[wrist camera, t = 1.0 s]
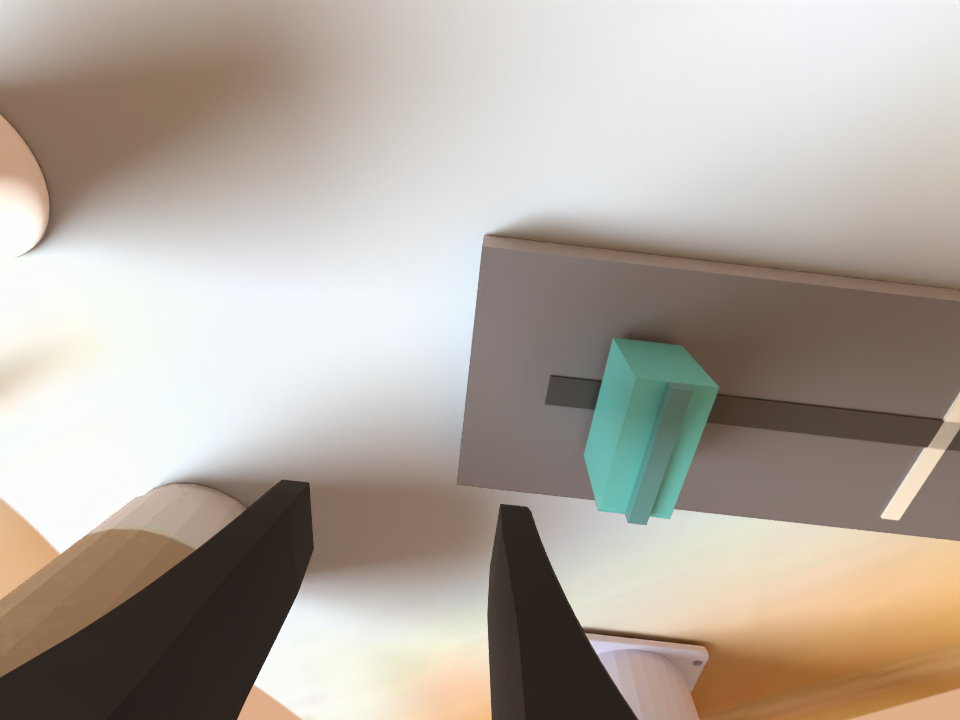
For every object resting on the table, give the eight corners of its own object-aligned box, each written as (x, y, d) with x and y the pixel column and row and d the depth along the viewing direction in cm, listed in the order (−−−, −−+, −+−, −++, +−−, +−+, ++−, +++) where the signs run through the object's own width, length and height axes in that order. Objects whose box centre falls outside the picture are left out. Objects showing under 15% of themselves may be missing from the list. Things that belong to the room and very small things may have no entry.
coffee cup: (113, 594, 26) (-295, 1069, 13) (66, 429, 22) (-672, 918, 8) (311, 620, 27) (116, 1114, 13) (308, 464, 22) (-7, 994, 8)
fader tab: (644, 462, 18) (674, 528, 15) (583, 455, 18) (600, 519, 15) (682, 345, 16) (725, 394, 13) (613, 337, 16) (639, 384, 13)
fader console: (975, 513, 21) (1021, 549, 19) (460, 455, 21) (456, 486, 19) (1128, 309, 17) (1207, 330, 15) (484, 235, 17) (482, 246, 15)
